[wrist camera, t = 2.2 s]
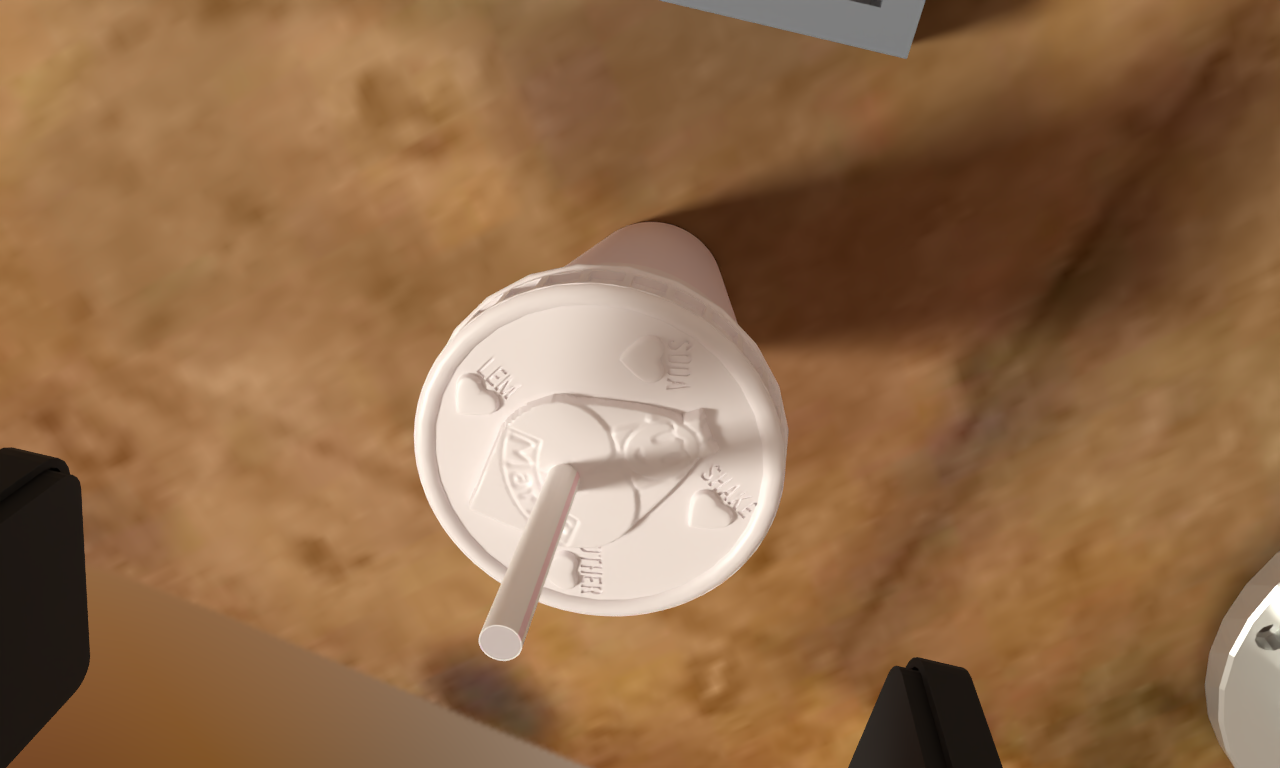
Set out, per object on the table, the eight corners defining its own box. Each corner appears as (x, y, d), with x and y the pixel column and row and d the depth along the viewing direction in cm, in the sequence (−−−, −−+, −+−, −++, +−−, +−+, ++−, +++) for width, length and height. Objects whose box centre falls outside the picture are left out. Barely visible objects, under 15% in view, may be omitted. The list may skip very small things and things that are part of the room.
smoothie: (494, 219, 24) (192, 486, 11) (726, 128, 22) (693, 315, 9) (589, 429, 26) (431, 859, 13) (808, 359, 24) (871, 771, 11)
